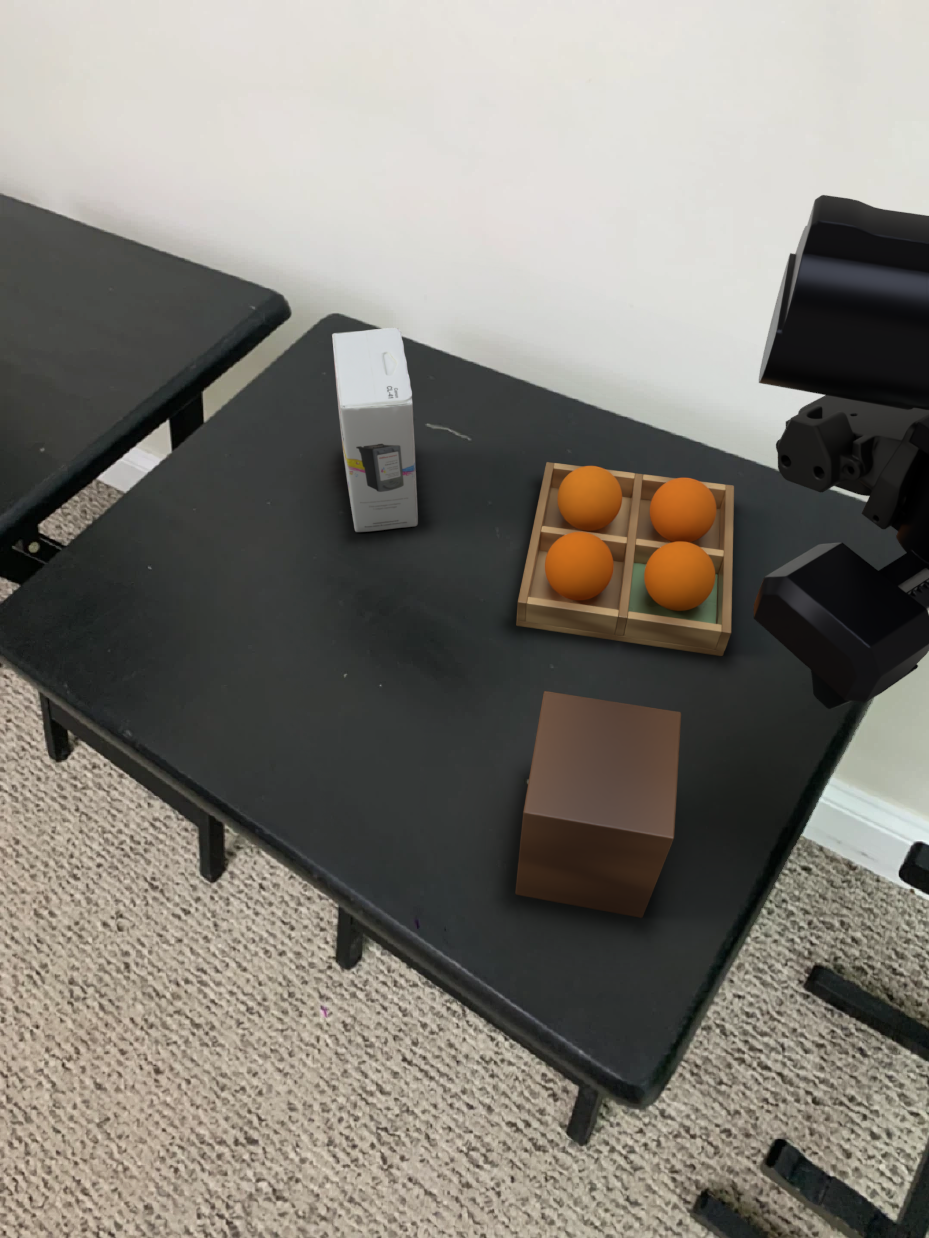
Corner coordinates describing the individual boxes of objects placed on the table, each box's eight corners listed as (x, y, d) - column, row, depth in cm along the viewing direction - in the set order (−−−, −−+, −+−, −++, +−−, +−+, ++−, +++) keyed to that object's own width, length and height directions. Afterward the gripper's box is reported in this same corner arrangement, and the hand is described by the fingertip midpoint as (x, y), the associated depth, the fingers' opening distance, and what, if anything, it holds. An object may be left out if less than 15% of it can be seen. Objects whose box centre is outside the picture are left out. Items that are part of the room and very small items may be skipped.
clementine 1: (620, 503, 69) (628, 456, 65) (614, 547, 66) (623, 501, 63) (559, 495, 70) (564, 448, 66) (551, 539, 67) (555, 493, 63)
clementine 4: (706, 582, 64) (723, 533, 61) (705, 630, 61) (722, 581, 58) (640, 571, 65) (653, 522, 61) (636, 618, 62) (649, 569, 58)
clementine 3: (710, 515, 68) (723, 468, 65) (708, 560, 65) (721, 514, 62) (647, 506, 69) (657, 460, 65) (642, 551, 66) (652, 505, 62)
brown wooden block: (651, 803, 54) (681, 711, 47) (642, 918, 50) (674, 838, 42) (533, 783, 55) (543, 690, 47) (515, 894, 51) (523, 812, 43)
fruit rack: (726, 510, 69) (734, 485, 67) (722, 656, 61) (731, 633, 59) (544, 487, 71) (546, 461, 69) (516, 626, 63) (517, 601, 61)
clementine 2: (612, 568, 65) (620, 522, 61) (605, 618, 62) (614, 573, 59) (547, 559, 66) (552, 513, 62) (538, 608, 63) (542, 563, 59)
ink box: (344, 458, 73) (326, 329, 64) (407, 451, 74) (399, 322, 64) (354, 537, 68) (335, 409, 59) (422, 529, 68) (414, 400, 59)
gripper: (1002, 249, 42) (883, 495, 55) (702, 395, 36) (643, 636, 48) (1244, 373, 37) (1050, 617, 49) (937, 573, 30) (802, 796, 43)
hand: (886, 658), depth 47 cm, fingers open, 9 cm apart
